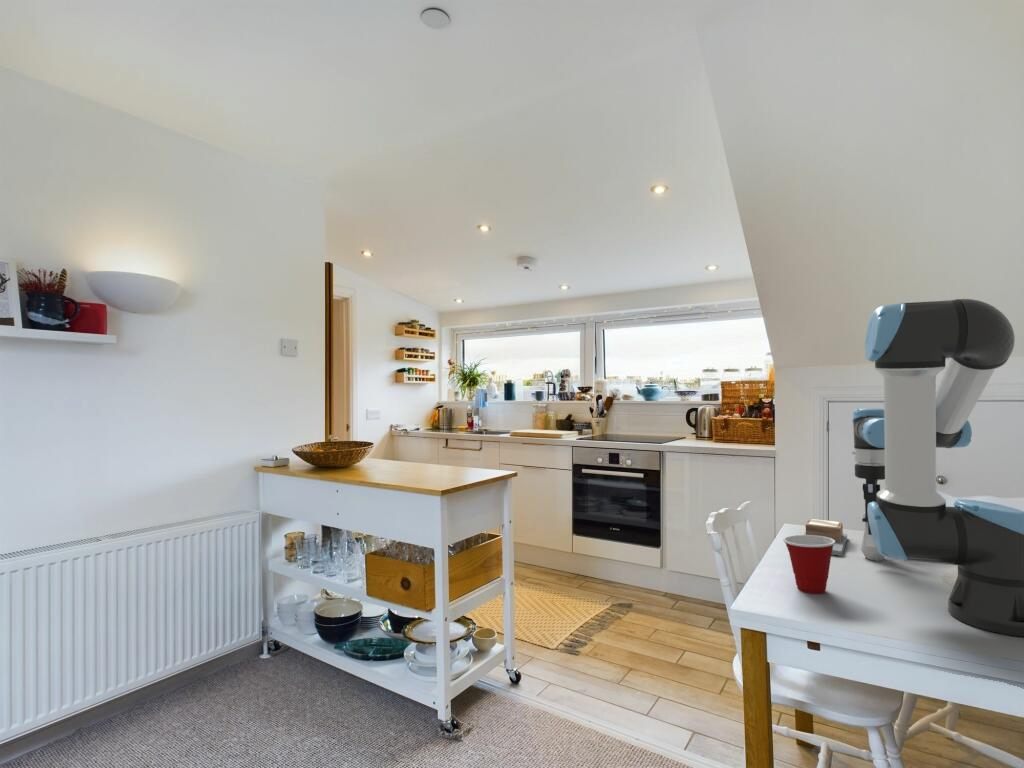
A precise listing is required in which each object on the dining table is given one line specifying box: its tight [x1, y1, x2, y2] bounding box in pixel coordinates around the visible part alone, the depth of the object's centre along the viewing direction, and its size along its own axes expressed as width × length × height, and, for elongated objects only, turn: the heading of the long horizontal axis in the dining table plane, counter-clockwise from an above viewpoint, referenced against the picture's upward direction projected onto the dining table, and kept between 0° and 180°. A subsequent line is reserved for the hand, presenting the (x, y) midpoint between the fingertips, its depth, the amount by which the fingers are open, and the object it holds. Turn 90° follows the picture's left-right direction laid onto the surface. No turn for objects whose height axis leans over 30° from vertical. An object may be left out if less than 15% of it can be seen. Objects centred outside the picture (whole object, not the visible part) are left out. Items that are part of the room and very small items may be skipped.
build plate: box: [803, 531, 848, 557], centre depth 158 cm, size 22×11×2 cm, turn 144°
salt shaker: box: [860, 511, 885, 562], centre depth 144 cm, size 6×6×13 cm
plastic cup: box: [782, 534, 835, 595], centre depth 122 cm, size 11×11×12 cm
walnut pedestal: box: [805, 518, 844, 542], centre depth 161 cm, size 9×9×4 cm
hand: (873, 540), depth 144 cm, fingers open, 13 cm apart
